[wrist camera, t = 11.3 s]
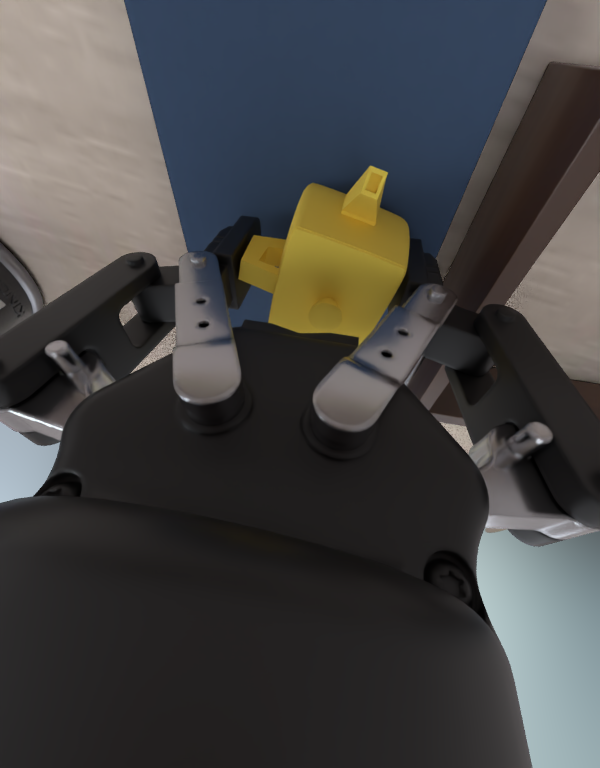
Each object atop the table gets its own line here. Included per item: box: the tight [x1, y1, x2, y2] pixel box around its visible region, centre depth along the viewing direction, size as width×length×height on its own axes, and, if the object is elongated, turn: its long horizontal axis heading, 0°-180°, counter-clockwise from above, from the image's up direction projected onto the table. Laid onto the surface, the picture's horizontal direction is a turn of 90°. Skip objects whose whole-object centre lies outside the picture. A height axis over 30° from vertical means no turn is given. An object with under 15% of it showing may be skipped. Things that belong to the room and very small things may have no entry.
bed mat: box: [124, 0, 547, 328], centre depth 14 cm, size 12×20×2 cm, turn 177°
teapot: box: [238, 166, 410, 346], centre depth 11 cm, size 8×6×5 cm
